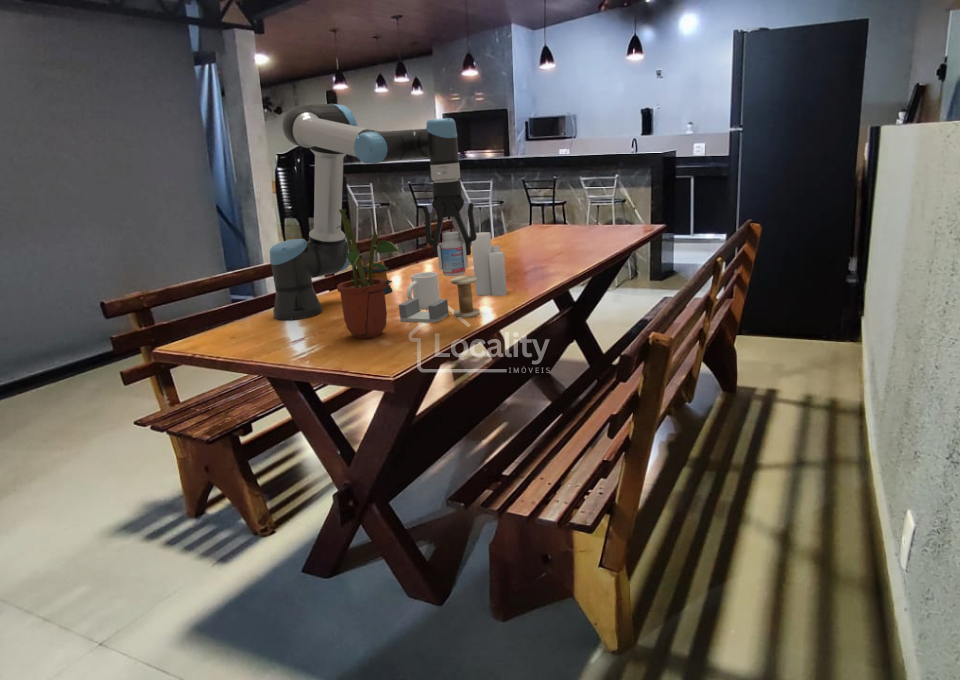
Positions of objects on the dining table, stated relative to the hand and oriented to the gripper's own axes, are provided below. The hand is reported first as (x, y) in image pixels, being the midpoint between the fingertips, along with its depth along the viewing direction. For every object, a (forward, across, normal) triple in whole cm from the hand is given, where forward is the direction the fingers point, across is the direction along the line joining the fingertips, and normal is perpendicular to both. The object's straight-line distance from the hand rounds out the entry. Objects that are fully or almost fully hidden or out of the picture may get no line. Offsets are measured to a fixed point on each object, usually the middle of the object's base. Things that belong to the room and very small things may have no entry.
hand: (453, 268), depth 181 cm
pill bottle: (+2, 0, 0) cm, 2 cm away
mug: (+17, -14, +26) cm, 35 cm away
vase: (+17, +7, +41) cm, 45 cm away
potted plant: (+17, -24, -1) cm, 29 cm away
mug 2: (+17, -36, +53) cm, 66 cm away
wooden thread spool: (+17, +1, +15) cm, 23 cm away
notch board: (+17, -12, +13) cm, 24 cm away
